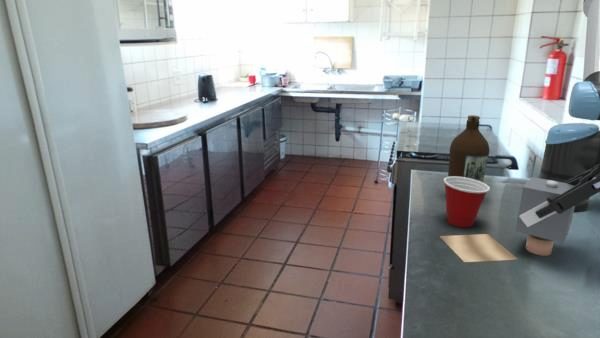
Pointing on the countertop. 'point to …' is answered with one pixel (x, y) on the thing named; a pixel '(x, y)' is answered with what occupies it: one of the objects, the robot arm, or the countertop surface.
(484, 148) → the brown glass bottle shape
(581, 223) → the countertop surface
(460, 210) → the plastic cup
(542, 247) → the terracotta pot
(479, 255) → the oak board
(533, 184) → the grey knobbed cube
